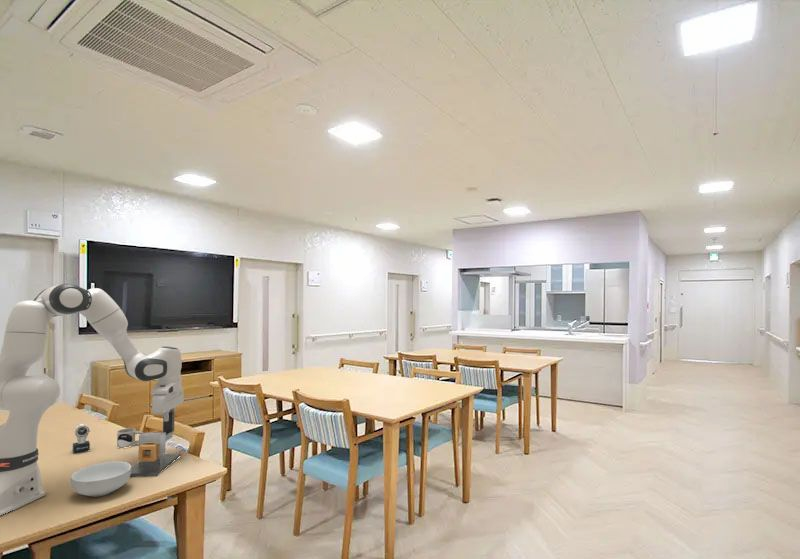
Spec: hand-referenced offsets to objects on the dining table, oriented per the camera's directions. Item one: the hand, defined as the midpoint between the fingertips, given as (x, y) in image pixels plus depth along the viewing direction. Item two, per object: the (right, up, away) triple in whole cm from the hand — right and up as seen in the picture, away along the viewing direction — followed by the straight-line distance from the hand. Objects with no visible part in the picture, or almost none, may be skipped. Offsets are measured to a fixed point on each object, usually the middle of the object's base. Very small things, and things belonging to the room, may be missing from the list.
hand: (168, 419), depth 186 cm
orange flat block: (+1, -10, -17) cm, 19 cm away
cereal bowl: (-5, -13, -35) cm, 38 cm away
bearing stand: (+1, -14, -14) cm, 19 cm away
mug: (-22, -15, +11) cm, 29 cm away
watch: (-39, -15, +5) cm, 42 cm away
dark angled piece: (0, -7, -7) cm, 10 cm away
